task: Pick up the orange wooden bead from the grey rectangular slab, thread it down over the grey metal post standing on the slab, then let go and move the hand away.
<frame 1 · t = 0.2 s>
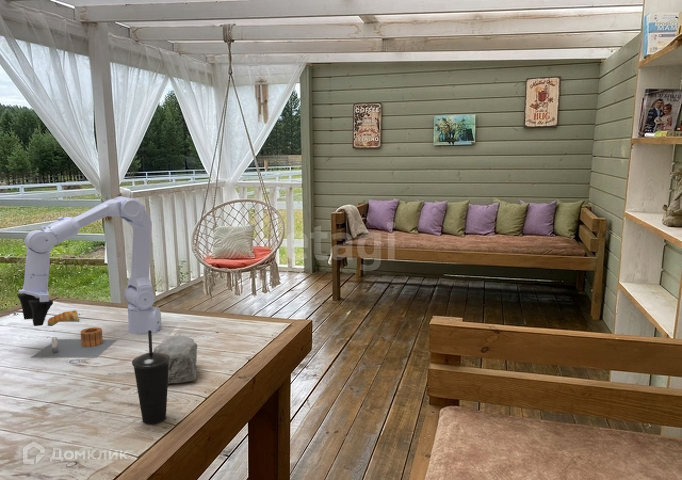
hand: (33, 322, 141), 11 cm above the table, tool pointing down, fingers open, 7 cm apart
metal post: (55, 352, 143), resting on grey rectangular slab
drinking cup: (154, 419, 110), on the table
stone: (175, 377, 132), on the table
pastry: (66, 323, 173), on the table
bead: (92, 343, 150), point 1 cm above the table, touching grey rectangular slab
grey rectangular slab: (76, 352, 146), on the table
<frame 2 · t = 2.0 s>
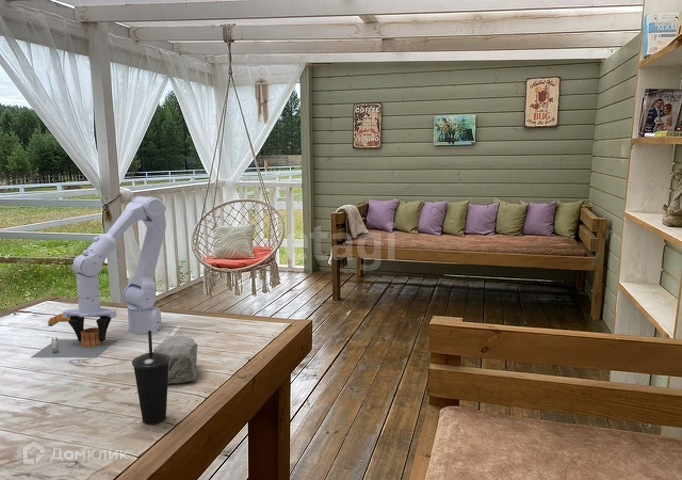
hand: (92, 340, 150), 2 cm above the table, tool pointing down, fingers closed on bead, 6 cm apart
bead: (92, 343, 150), point 2 cm above the table, touching gripper, grey rectangular slab
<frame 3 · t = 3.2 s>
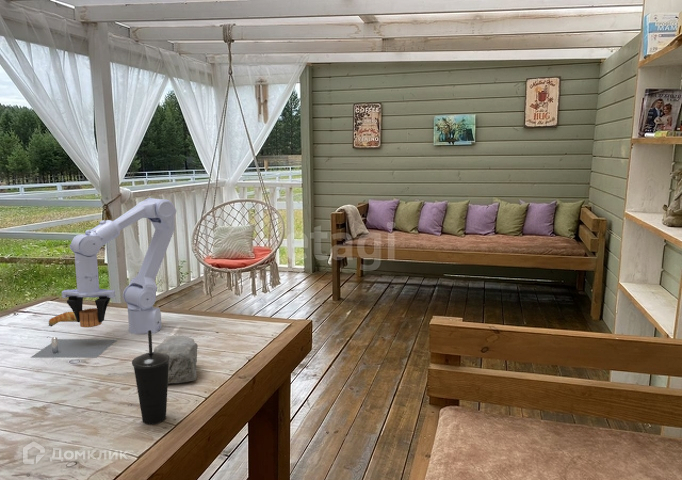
hand: (90, 321, 149), 8 cm above the table, tool pointing down, fingers closed on bead, 6 cm apart
bead: (91, 324, 149), point 7 cm above the table, touching gripper
everything else where it was.
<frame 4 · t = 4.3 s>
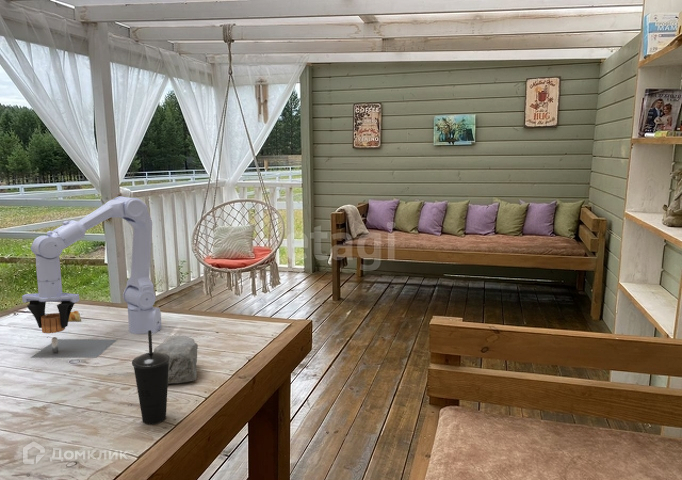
hand: (53, 326, 141), 9 cm above the table, tool pointing down, fingers closed on bead, 6 cm apart
bead: (53, 329, 142), point 8 cm above the table, touching gripper
everything else where it was.
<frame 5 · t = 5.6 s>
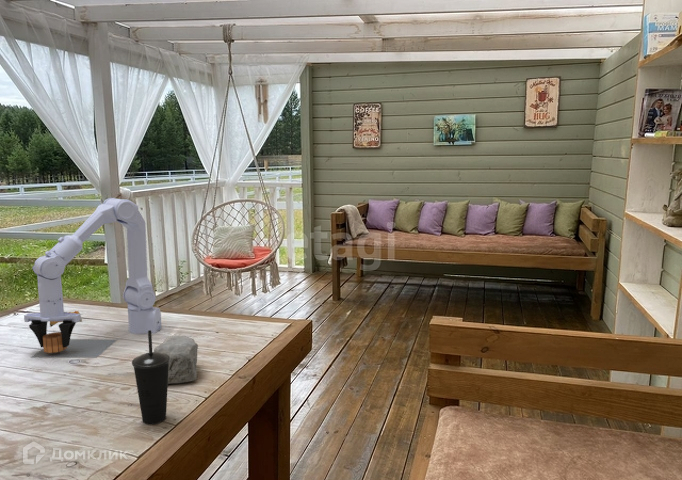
hand: (55, 346, 142), 3 cm above the table, tool pointing down, fingers closed on bead, 6 cm apart
bead: (55, 349, 143), point 3 cm above the table, touching gripper
when the fingers open (3 cm above the table, at t = 6.5 s): bead drops 1 cm, resting on grey rectangular slab.
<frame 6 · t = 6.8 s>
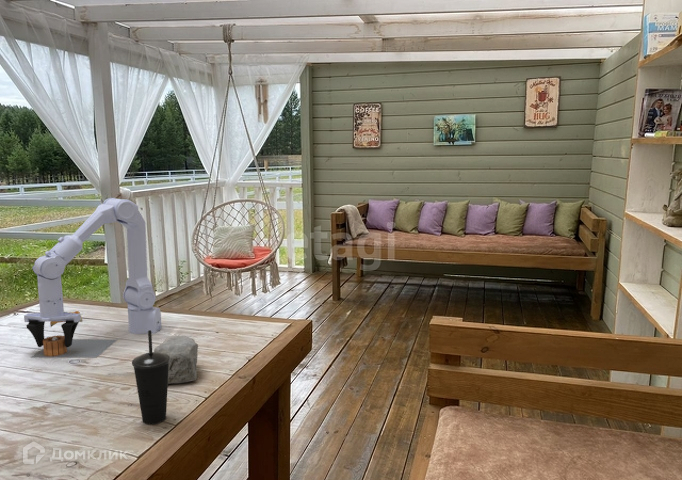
hand: (55, 346, 142), 3 cm above the table, tool pointing down, fingers open, 7 cm apart
bead: (55, 352, 143), point 1 cm above the table, touching grey rectangular slab
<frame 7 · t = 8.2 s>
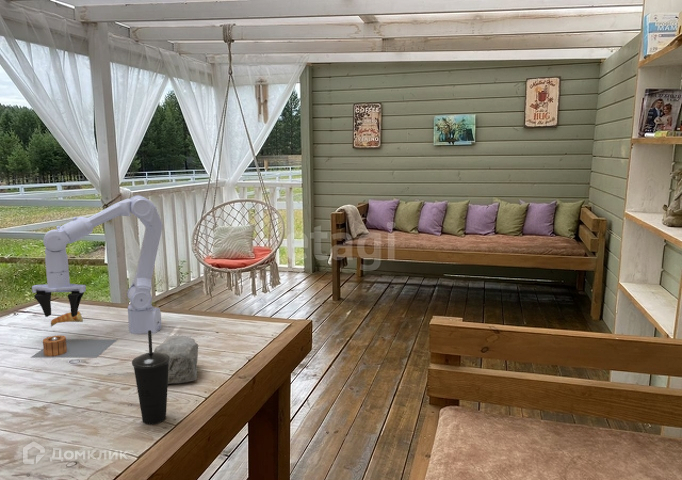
hand: (61, 315, 150), 9 cm above the table, tool pointing down, fingers open, 7 cm apart
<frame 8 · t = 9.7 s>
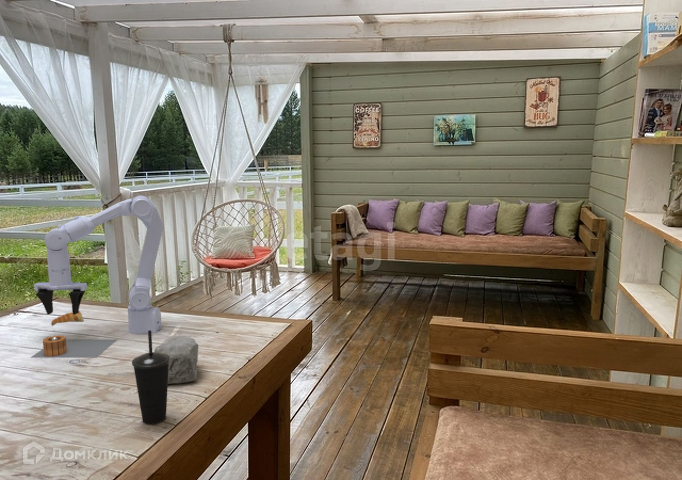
hand: (62, 313, 152), 9 cm above the table, tool pointing down, fingers open, 7 cm apart
at the end: bead 0.0 cm from the metal post (horizontally); bead point 1.5 cm above the table; the gripper is holding nothing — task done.
